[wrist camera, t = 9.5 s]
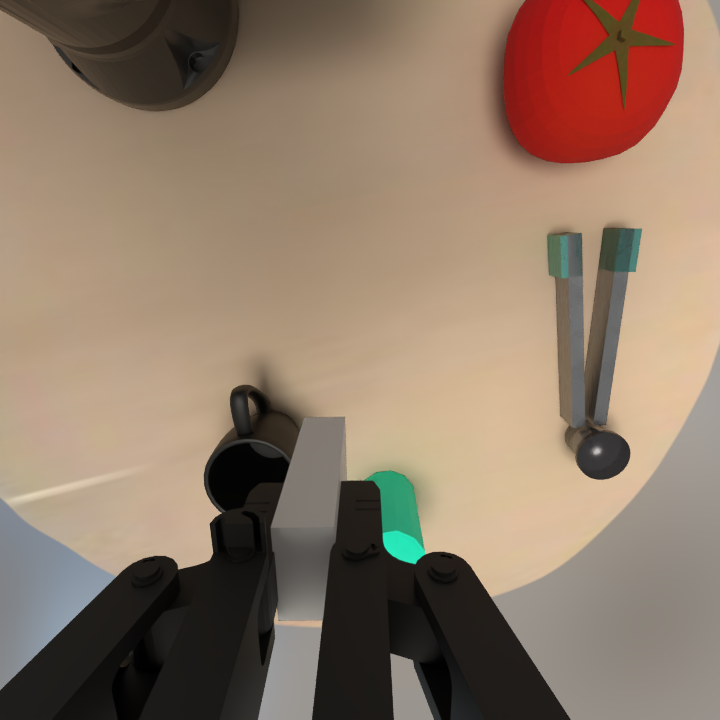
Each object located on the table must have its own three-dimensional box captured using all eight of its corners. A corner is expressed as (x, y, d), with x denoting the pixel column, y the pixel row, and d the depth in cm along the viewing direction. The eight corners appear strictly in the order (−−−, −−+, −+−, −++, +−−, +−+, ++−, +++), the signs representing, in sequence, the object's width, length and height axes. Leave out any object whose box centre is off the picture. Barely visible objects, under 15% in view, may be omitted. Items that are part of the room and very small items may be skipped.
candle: (347, 499, 52) (342, 579, 40) (382, 460, 50) (387, 530, 39) (391, 529, 53) (398, 615, 41) (426, 491, 51) (444, 569, 40)
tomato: (620, -24, 38) (717, -117, 28) (636, 149, 42) (728, 125, 31) (472, 21, 39) (512, -53, 29) (500, 186, 43) (545, 174, 32)
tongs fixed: (603, 456, 50) (626, 479, 46) (556, 456, 50) (575, 479, 46) (637, 228, 44) (667, 228, 39) (583, 228, 44) (608, 229, 39)
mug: (303, 358, 47) (289, 392, 38) (316, 468, 51) (305, 522, 42) (221, 364, 48) (187, 398, 38) (239, 472, 51) (211, 528, 42)
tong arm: (572, 414, 49) (585, 426, 46) (554, 416, 49) (566, 429, 46) (567, 232, 44) (581, 233, 41) (547, 235, 44) (560, 236, 41)
